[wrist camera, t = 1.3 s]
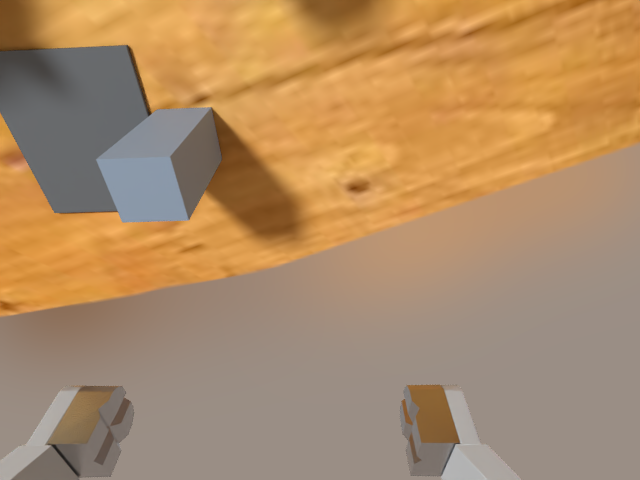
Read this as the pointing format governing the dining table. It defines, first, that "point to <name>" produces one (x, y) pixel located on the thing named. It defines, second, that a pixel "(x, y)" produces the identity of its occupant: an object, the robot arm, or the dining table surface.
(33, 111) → the mat
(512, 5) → the dining table surface
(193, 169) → the block
